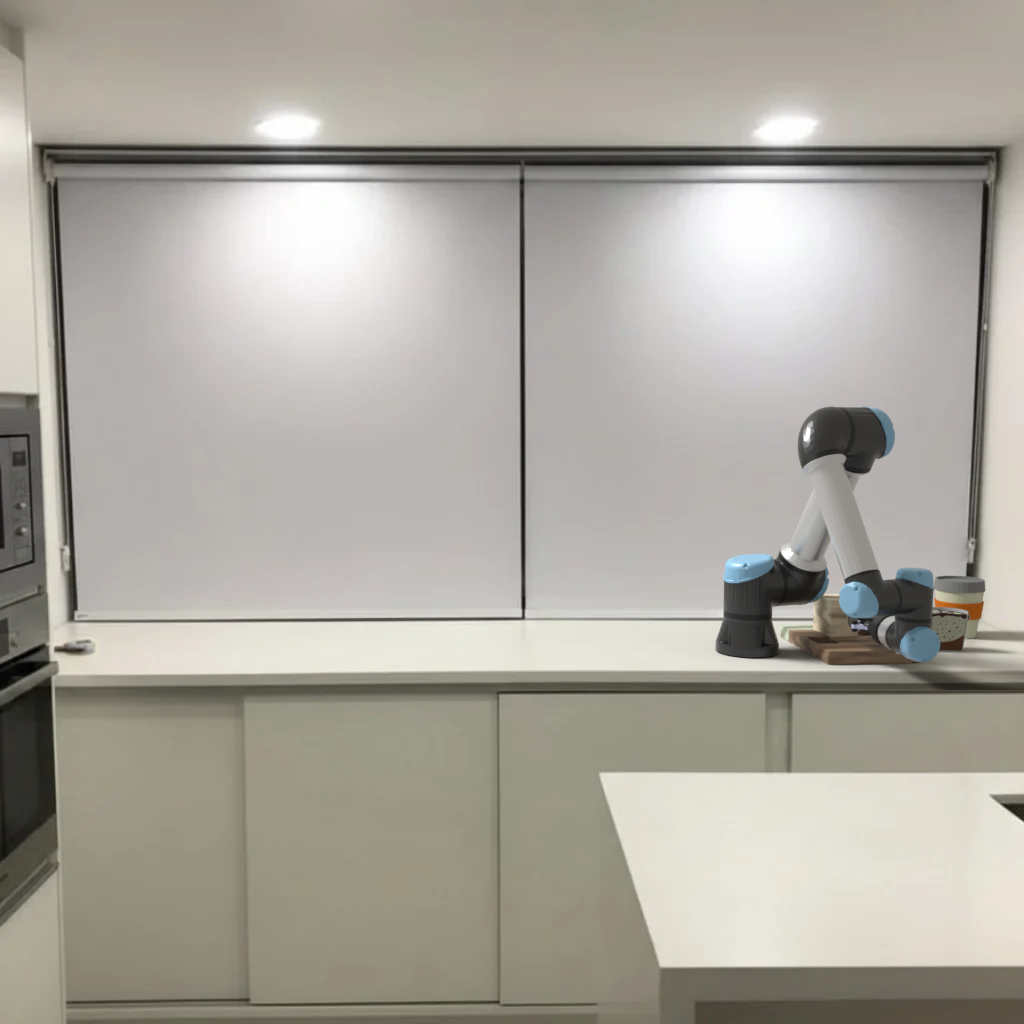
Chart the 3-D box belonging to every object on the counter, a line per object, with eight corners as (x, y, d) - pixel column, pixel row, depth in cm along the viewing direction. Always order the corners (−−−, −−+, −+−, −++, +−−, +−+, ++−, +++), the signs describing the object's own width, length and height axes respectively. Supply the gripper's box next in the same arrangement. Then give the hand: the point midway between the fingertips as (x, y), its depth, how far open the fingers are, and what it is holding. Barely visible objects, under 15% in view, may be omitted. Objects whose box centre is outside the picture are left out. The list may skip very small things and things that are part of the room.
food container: (960, 646, 263) (962, 607, 262) (969, 651, 257) (970, 611, 256) (910, 645, 264) (911, 606, 263) (917, 650, 258) (918, 610, 257)
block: (857, 636, 260) (858, 600, 260) (831, 637, 259) (832, 600, 259) (838, 628, 270) (839, 593, 270) (812, 629, 269) (813, 594, 268)
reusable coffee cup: (923, 634, 278) (925, 578, 276) (946, 628, 286) (948, 574, 284) (969, 642, 268) (972, 584, 267) (992, 635, 276) (994, 579, 275)
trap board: (919, 662, 245) (920, 650, 245) (828, 664, 243) (828, 651, 243) (861, 635, 277) (861, 624, 276) (780, 636, 275) (780, 625, 274)
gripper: (864, 649, 236) (823, 628, 259) (919, 648, 237) (874, 627, 260) (865, 616, 235) (824, 598, 258) (921, 615, 236) (875, 597, 260)
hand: (849, 613), depth 259 cm, fingers closed
